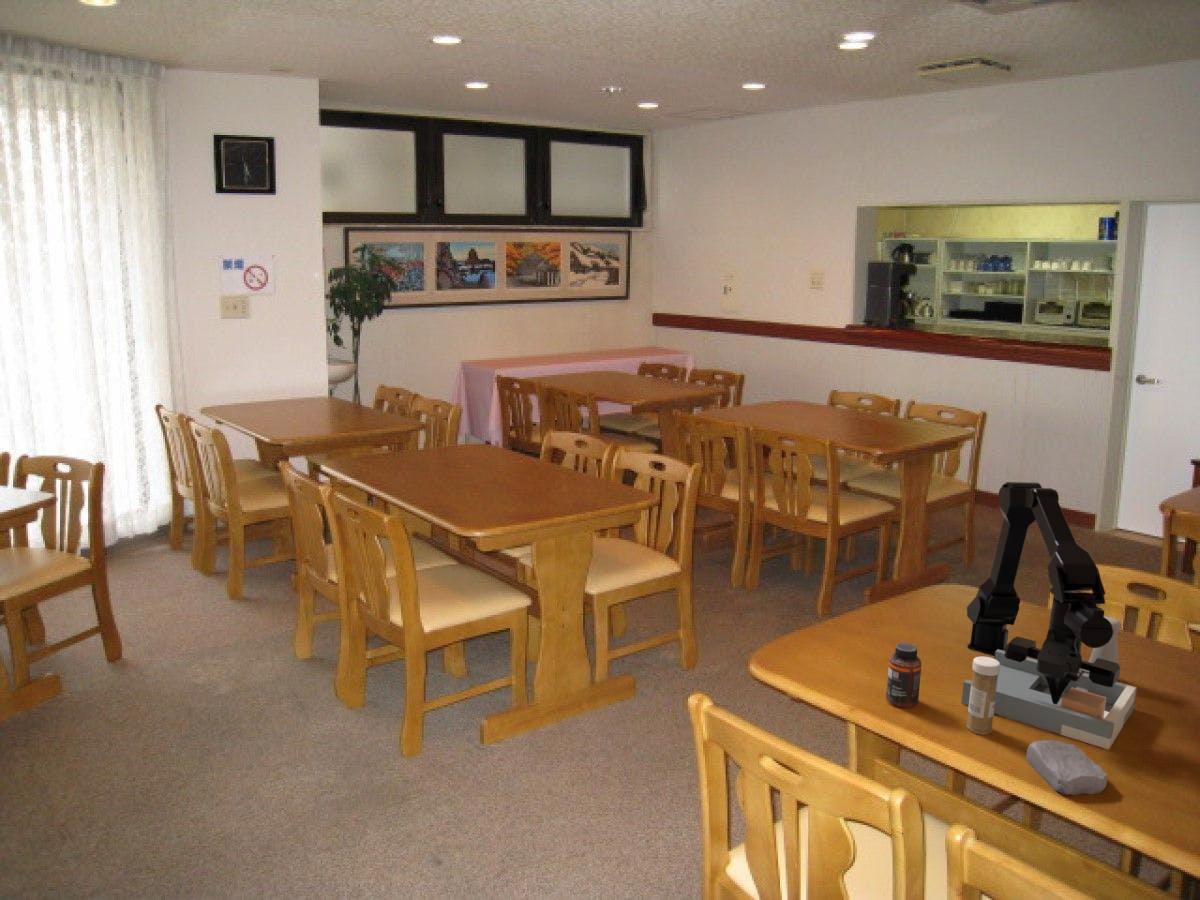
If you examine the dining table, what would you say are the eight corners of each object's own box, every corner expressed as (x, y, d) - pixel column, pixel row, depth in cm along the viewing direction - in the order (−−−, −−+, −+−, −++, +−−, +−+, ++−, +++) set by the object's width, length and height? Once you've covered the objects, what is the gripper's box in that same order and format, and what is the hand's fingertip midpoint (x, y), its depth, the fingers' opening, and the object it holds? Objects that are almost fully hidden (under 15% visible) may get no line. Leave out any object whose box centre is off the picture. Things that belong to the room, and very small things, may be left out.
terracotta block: (1059, 718, 185) (1061, 697, 184) (1069, 706, 189) (1071, 687, 189) (1094, 729, 181) (1097, 708, 180) (1103, 717, 186) (1106, 697, 185)
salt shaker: (1120, 687, 203) (1130, 626, 200) (1089, 683, 204) (1098, 623, 201) (1112, 674, 208) (1121, 615, 205) (1082, 671, 209) (1091, 612, 207)
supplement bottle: (918, 697, 196) (924, 643, 193) (917, 711, 190) (923, 655, 188) (886, 692, 198) (891, 638, 195) (884, 705, 192) (889, 650, 190)
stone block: (1070, 766, 176) (1018, 757, 175) (1080, 742, 175) (1027, 733, 174) (1110, 807, 165) (1055, 798, 163) (1121, 782, 164) (1065, 772, 162)
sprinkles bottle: (997, 734, 183) (1006, 665, 180) (974, 736, 182) (983, 667, 179) (982, 722, 187) (990, 654, 184) (960, 724, 186) (968, 656, 183)
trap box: (961, 703, 194) (964, 679, 193) (995, 669, 209) (998, 646, 208) (1108, 749, 178) (1112, 723, 177) (1133, 709, 194) (1137, 684, 193)
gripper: (1000, 624, 184) (990, 702, 188) (1111, 653, 173) (1098, 736, 176) (1019, 606, 193) (1009, 682, 196) (1126, 634, 181) (1113, 713, 185)
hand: (1055, 703), depth 188 cm, fingers closed
